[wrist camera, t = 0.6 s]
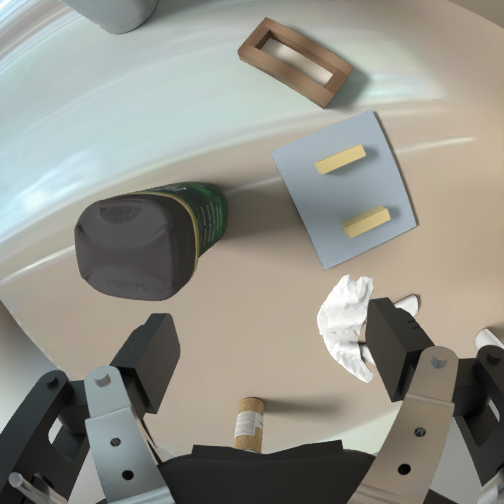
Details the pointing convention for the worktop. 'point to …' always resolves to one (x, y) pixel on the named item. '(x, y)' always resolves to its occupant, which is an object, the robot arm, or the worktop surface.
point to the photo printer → (487, 339)
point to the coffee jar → (149, 239)
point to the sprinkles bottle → (249, 425)
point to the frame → (295, 61)
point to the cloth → (352, 323)
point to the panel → (346, 188)
